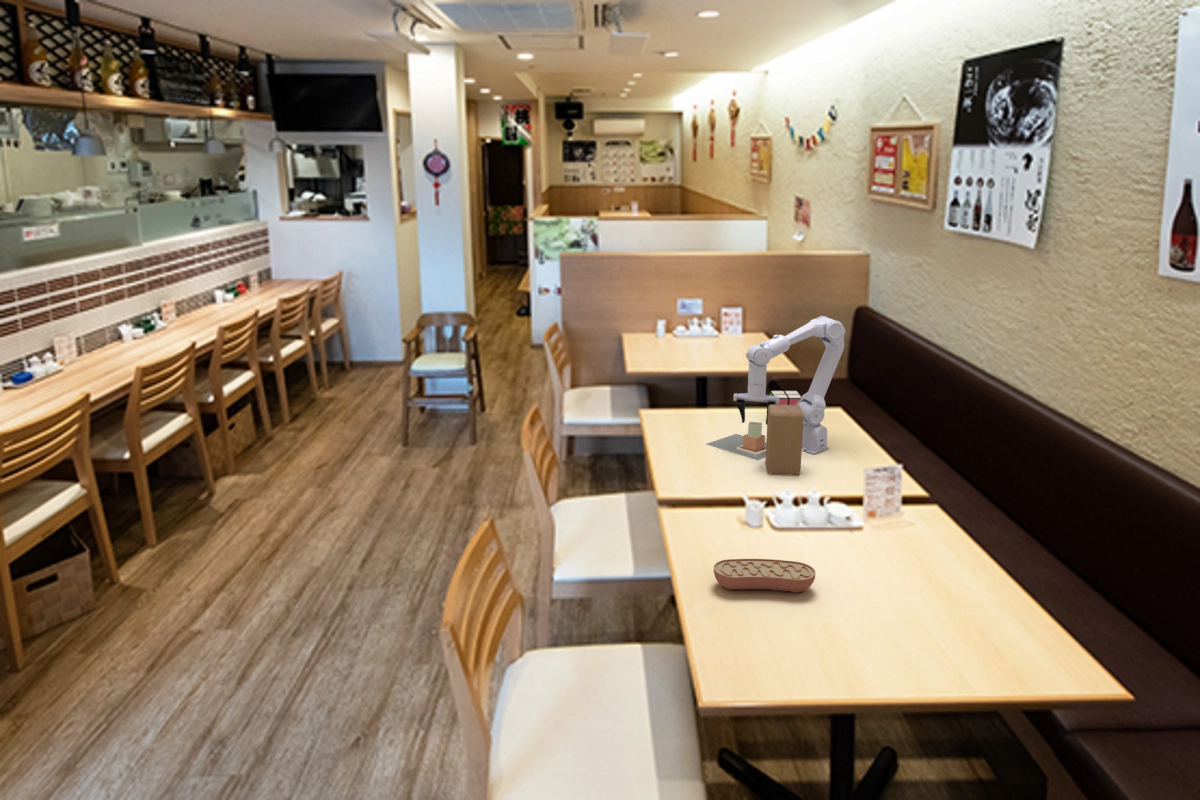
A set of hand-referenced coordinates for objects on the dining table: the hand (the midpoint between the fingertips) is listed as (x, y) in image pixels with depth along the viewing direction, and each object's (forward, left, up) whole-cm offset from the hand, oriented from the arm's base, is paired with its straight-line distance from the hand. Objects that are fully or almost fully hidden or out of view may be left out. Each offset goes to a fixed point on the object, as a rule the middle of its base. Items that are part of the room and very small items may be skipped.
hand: (755, 422), depth 291 cm
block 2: (0, 0, -9) cm, 9 cm away
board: (+4, -1, -10) cm, 11 cm away
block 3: (-16, +6, -11) cm, 20 cm away
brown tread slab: (-60, +72, -11) cm, 94 cm away
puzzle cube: (+15, -37, -11) cm, 41 cm away
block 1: (0, 0, -4) cm, 4 cm away
